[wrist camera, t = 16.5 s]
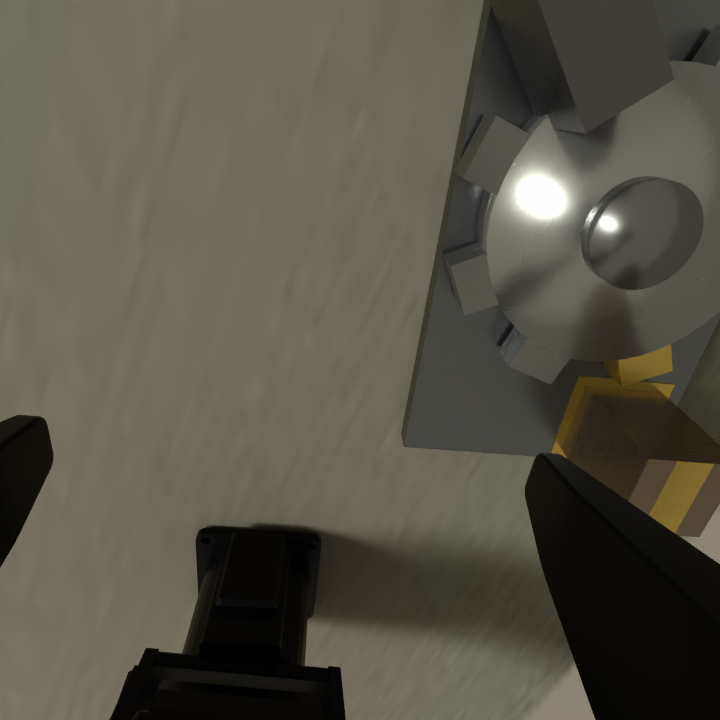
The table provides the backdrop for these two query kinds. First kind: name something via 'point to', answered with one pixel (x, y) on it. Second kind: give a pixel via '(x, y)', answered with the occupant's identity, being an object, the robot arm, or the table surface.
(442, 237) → the base plate
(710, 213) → the sprocket
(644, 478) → the striped gift box
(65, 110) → the table surface
